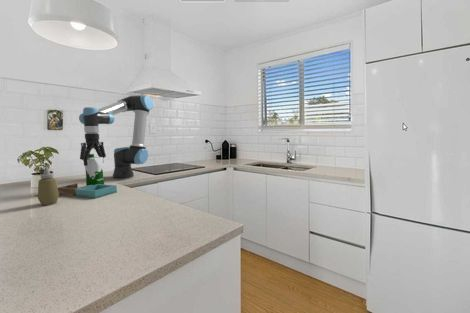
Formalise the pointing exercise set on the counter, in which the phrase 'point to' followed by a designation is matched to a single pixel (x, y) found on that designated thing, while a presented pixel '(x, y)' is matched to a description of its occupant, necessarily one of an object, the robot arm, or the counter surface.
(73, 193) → the dock
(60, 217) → the counter surface
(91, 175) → the soya milk
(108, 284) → the counter surface
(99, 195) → the tray
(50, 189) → the squeeze bottle
